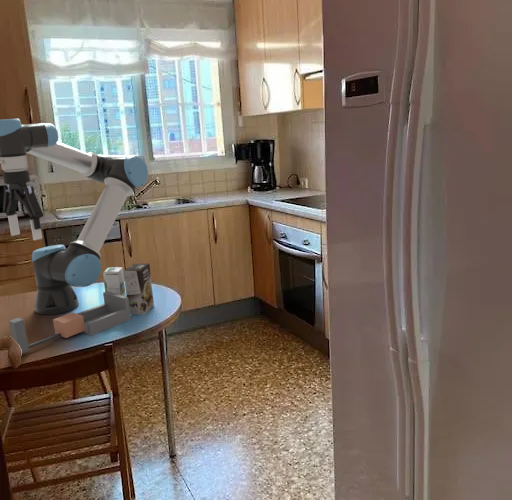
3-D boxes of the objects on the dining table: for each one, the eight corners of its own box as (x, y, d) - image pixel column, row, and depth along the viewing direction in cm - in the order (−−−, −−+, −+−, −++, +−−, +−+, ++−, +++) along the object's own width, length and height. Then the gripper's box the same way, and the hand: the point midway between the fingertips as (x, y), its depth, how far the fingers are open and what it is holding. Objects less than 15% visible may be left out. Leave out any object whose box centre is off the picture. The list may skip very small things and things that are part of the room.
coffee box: (145, 314, 191) (140, 270, 187) (127, 314, 193) (122, 270, 189) (154, 305, 200) (150, 262, 196) (138, 305, 201) (133, 262, 197)
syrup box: (111, 305, 203) (106, 267, 200) (127, 304, 203) (122, 266, 199) (107, 310, 198) (101, 272, 194) (123, 309, 198) (118, 271, 194)
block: (12, 350, 166) (6, 319, 163) (74, 326, 182) (70, 298, 179) (22, 355, 162) (16, 323, 159) (85, 330, 178) (80, 301, 175)
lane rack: (69, 327, 184) (66, 305, 182) (109, 312, 195) (106, 291, 193) (90, 335, 176) (87, 312, 174) (130, 319, 188) (128, 297, 186)
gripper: (-16, 170, 175) (-4, 235, 180) (24, 173, 160) (36, 244, 165) (7, 167, 181) (17, 230, 186) (48, 169, 165) (58, 238, 170)
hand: (26, 237), depth 175 cm, fingers open, 13 cm apart
